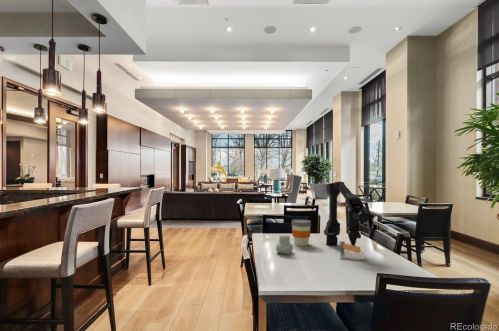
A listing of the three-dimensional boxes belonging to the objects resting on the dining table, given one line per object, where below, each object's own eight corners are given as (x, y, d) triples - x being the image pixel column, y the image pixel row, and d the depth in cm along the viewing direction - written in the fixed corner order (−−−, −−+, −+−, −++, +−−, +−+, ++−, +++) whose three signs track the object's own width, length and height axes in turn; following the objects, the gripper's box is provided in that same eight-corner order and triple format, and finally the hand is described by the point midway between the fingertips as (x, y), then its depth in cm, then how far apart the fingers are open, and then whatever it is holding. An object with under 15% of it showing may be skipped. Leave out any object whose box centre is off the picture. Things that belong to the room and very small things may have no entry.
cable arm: (338, 247, 162) (338, 241, 162) (341, 247, 164) (341, 240, 164) (357, 253, 151) (357, 246, 151) (360, 252, 152) (360, 246, 152)
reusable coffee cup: (313, 243, 186) (313, 220, 186) (306, 247, 175) (306, 223, 176) (296, 240, 193) (296, 218, 193) (288, 244, 182) (288, 221, 182)
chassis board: (340, 258, 152) (340, 253, 152) (339, 249, 171) (339, 244, 172) (364, 261, 149) (364, 255, 149) (361, 251, 168) (361, 246, 168)
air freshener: (289, 256, 156) (289, 238, 157) (275, 254, 159) (275, 236, 159) (293, 251, 167) (293, 234, 167) (279, 249, 170) (279, 233, 170)
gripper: (371, 223, 147) (371, 253, 147) (367, 217, 165) (366, 244, 164) (348, 222, 150) (348, 251, 150) (346, 216, 168) (346, 242, 168)
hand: (353, 247), depth 158 cm, fingers closed
